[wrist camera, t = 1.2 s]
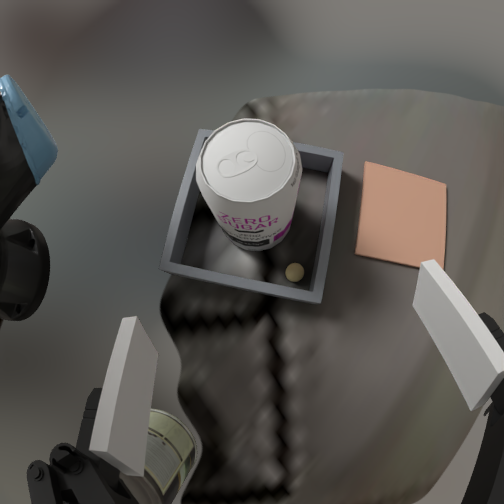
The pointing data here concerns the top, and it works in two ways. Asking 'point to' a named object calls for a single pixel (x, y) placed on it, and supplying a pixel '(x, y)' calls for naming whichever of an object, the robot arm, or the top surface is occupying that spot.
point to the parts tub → (294, 272)
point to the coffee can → (163, 460)
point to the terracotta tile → (401, 217)
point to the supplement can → (250, 181)
